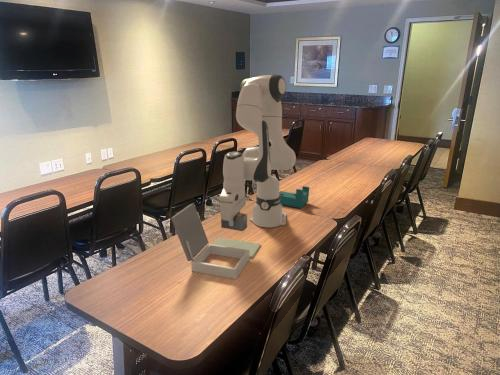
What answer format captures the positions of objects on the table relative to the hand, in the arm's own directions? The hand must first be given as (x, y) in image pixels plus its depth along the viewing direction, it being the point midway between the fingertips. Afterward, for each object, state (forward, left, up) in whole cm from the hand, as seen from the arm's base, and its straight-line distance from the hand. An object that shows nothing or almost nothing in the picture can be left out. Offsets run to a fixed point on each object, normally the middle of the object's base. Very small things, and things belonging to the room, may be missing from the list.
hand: (234, 222), depth 150 cm
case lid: (+15, -12, +1) cm, 19 cm away
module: (0, 0, -2) cm, 2 cm away
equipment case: (+15, -1, -12) cm, 19 cm away
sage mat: (0, 0, -12) cm, 12 cm away
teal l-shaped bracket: (-64, +11, -12) cm, 66 cm away
